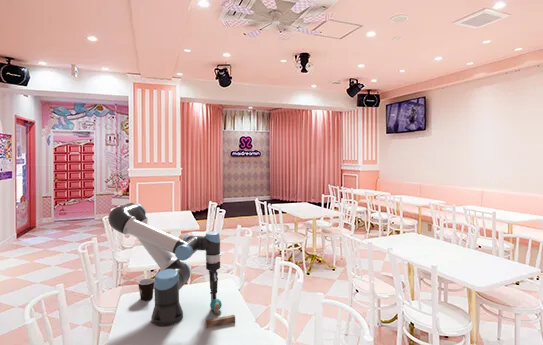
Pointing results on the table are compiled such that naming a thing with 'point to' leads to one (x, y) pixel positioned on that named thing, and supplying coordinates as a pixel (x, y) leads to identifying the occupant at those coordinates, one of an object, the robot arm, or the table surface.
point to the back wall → (220, 321)
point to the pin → (216, 308)
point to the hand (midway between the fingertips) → (213, 303)
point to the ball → (214, 303)
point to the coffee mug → (146, 289)
